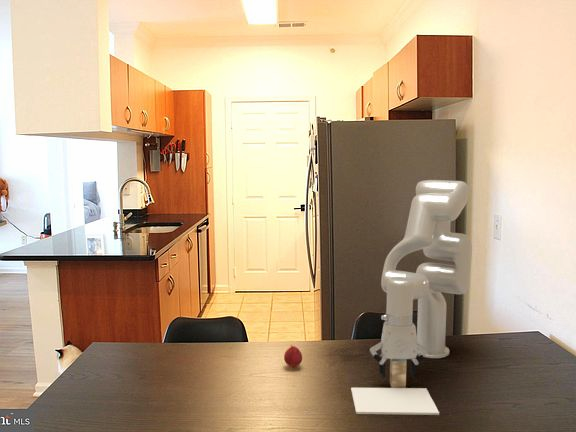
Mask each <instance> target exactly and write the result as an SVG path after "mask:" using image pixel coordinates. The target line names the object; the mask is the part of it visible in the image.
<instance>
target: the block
mask: <svg viewBox="0 0 576 432" xmlns="http://www.w3.org/2000/svg"><path fill="white" fill-rule="evenodd" d="M389 385H390V388H407V387H406V386H407V359H389Z"/></svg>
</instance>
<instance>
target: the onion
mask: <svg viewBox="0 0 576 432" xmlns="http://www.w3.org/2000/svg"><path fill="white" fill-rule="evenodd" d="M283 359H284V362H285V363H286V365H287V366H288V367H290V368H291V369H295V368H297V367H299V366H300V365H301V363H302V362H303V354H302V352H301V351H300V349H299V348H298V347H296V346H295V345H294V344H291V345H290V347H289V348H287V350H286V351H285V352H284V355H283Z"/></svg>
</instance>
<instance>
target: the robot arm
mask: <svg viewBox="0 0 576 432" xmlns="http://www.w3.org/2000/svg"><path fill="white" fill-rule="evenodd" d="M469 196H470V187H469V186H468V184H467V183H466V182H465V181H462V180H447V179H446V180H445V179H442V180H441V179H427V180H421V181H418V182H417V184H416V186H415V196H413V199H412V200H411V203H410V210H409V214H408V219H407V224H406V228H405V232H404V237H403V239H402V240H401V241H399V242H398V243H397V244H396V245H394V246H393V248H392V249H391V250H390V251H389V253H388V254H387V256H386V258H385V260H384V264H383V269H382V274H381V281H380V283H381V284H380V285H381V286H380V287H381V289H382V290H383V292H385V293H386V312H385V314H382V315H381V320H382V321H384V322H383V327H382V331H381V336H380V337H381V339H380V342H378V343H377V344H375V345H374V346H371V347H370V348H369V352H370V354H371V355H372V357H373V358H374V360H376V361H377V362H378V363H379V364H378V366H379V367H378V368H379V369H378V373H379V375H380V374H381V377H382V378H386V364H385V362H386V361H387V360H390V359H406V360H411V361H410V368H409V369H410V372H409V373H410V376H411V377H412V379H415V378H416V375H417V374H418V365H419V363H420V362H421V361H422V360H424V358H427V359H443V358H445V357H448V356H449V355H450V349H449V347H447V346H446V330H447V329H446V327H447V326H446V324H447V323H446V322H447V302H446V299H445V296H444V295H443V294H442V293H446V294H453V295H465V294H466V293H467V292H468V289H469V288H470V287H469V286H470V280H471V268H472V266H471V265H472V255H473V254H472V253H473V250H472V249H473V245H472V243H473V242H472V241H471V238H470V236H469V235H467V234H466V233H465V234H464V233H462V232H461V233H460V232H459V233H458V232H451V222H453V221H455V220H457V218H458V217H460V215H461V213H462V211H463V209H464V208H465V206H466V204H467V203H468V200H469V198H470V197H469ZM420 250H422V253H423V255H424V256H425V257H427V258H429V259H435V260H441V261H450V262H454V264H446V263H436V262H431V261H429V262H423V263H421V264H419V265H418V267H417V268H416V271H415V272H410V271H403V270H396V269H397V265H398V263H399V262H400V261H401V260H402V258H405V256H407V255H409V254H411V253H413V252H416V251H420ZM414 300H417V320H416V321H417V322H416V323H417V326H416V324H415V323H414V322H413V313H414V312H413V308H414V307H413V306H414ZM378 350H380V352H381V354H380V355H379V354H378V353H377V351H378Z"/></svg>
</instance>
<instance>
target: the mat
mask: <svg viewBox="0 0 576 432" xmlns="http://www.w3.org/2000/svg"><path fill="white" fill-rule="evenodd" d="M350 390H351V391H350V392H351V396H352V400H353V405H354V406H353V407H354V410H355V414H356V415H411V416H412V415H415V416H418V415H420V416H424V415H426V416H427V415H428V416H440V411H439V410H438V407H437V406H436V404H435V401H434V399H432V397H431V395H430V393H429V390H428V389H427V388H426V387H425V388H424V387H423V388H422V387H411V388H410V387H409V388H408V387H406V388H392V387H351V388H350Z"/></svg>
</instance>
